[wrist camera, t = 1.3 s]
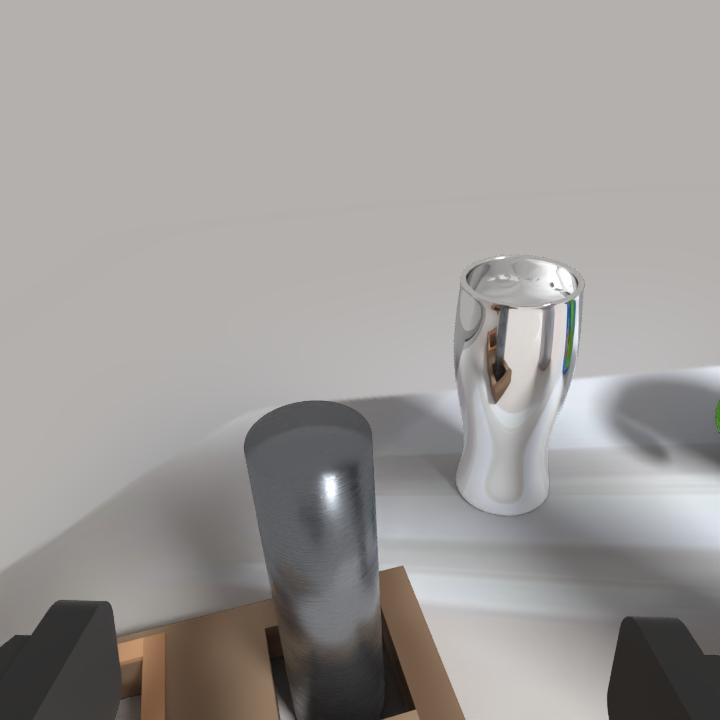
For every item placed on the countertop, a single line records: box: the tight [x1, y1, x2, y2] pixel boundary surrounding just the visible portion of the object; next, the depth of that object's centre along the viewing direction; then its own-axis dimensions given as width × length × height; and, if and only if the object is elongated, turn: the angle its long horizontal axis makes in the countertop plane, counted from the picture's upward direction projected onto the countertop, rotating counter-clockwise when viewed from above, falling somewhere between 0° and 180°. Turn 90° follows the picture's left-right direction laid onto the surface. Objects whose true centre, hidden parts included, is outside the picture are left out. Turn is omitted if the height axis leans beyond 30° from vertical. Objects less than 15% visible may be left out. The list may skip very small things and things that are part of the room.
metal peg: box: [244, 401, 385, 720], centre depth 26 cm, size 4×4×16 cm
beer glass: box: [454, 255, 585, 516], centre depth 38 cm, size 7×7×15 cm
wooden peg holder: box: [117, 566, 465, 720], centre depth 28 cm, size 21×9×3 cm, turn 105°
